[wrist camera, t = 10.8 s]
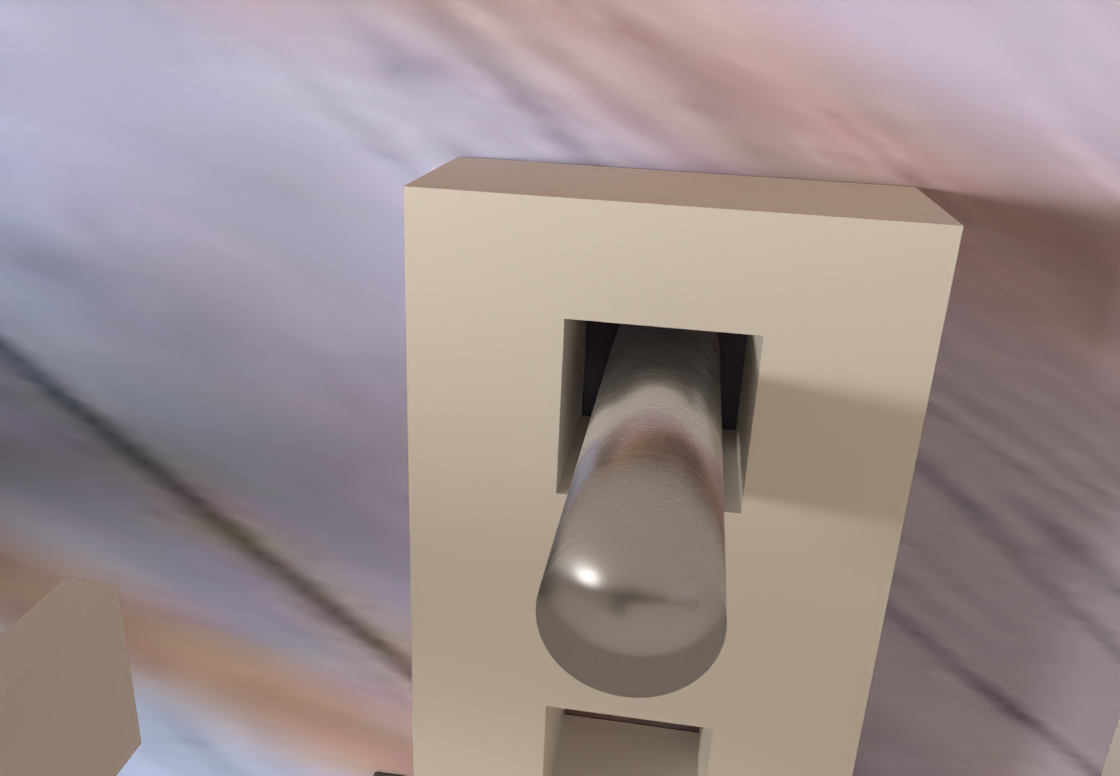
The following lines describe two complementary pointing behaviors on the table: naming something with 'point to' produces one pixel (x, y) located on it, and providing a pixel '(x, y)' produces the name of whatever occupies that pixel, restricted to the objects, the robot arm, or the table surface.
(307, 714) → the table surface
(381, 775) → the mat
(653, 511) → the peg
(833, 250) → the hole block
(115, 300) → the table surface
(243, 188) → the table surface
